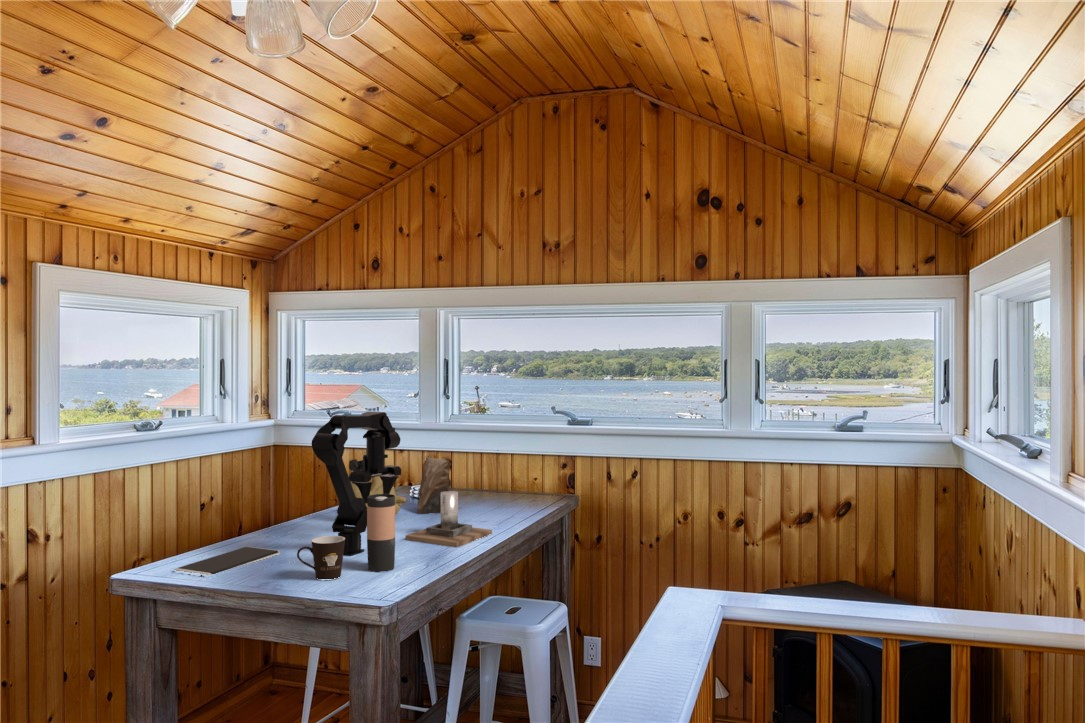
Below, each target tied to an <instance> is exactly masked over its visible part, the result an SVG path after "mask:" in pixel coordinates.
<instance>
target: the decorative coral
mask: <svg viewBox="0 0 1085 723" xmlns="http://www.w3.org/2000/svg"><path fill="white" fill-rule="evenodd" d="M351 472H353V470H352V471H351V470H350V469H349V474H350V473H351ZM349 474H348V476H349ZM381 476H382V475H381ZM350 482H351V485H352V488H353V491H354V494H355V496H356V497H357V498H362V496H361V493H360V490H359V488H358V487H357V486H356V485H355V484H353V483H352V481H350ZM371 482H372V485H371V490H370V495H375V494H383V482H382V480H381V478H380V477H379V476H376V477H372V478H371ZM389 494H392V495H395V516H396V515H397V514H398V513H399V512H400V509H401V508H400V507H402V506H403V505H404V504H405V503H406V502H407V498H406V497H404V496H401V495H397V493H396V489H395V487H394V485H393V487H392V489H391V491H390V493H389ZM370 495H369V496H370ZM365 504H366V503H365ZM366 506H367V504H366Z"/></svg>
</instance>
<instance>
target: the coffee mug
mask: <svg viewBox="0 0 1085 723" xmlns="http://www.w3.org/2000/svg"><path fill="white" fill-rule="evenodd" d="M344 544H345V538H344V537H341V536H338V535H325V536H319V537H318V536H317V537H314V538H312V539H311V546H310V547H309V546H307V545H306V546H302V547H299V549H298V550H297V552H296V557H297V559H298V561H299V562H301V563H302V564H303V565H306V566H308V567H309V568H311V569H313V570H314V573H315V579H316V578H318V579H334V578H338V577H340V576H341V577H342V571H343V570H342V569H343V560H344V555H343V553H344ZM303 550H309V551H310V553H311V554H312V557H313V558H312V559H313V565H311V564H310V563H308V562H306V561H304V560H303V559H302V558H301V557H300V552H301V551H303ZM341 577H340V578H341ZM338 579H339V578H338Z"/></svg>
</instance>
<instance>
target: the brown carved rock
mask: <svg viewBox="0 0 1085 723" xmlns="http://www.w3.org/2000/svg"><path fill="white" fill-rule="evenodd" d="M450 463H451V462H450V460H448V459H446V458H434V457H432V456H431V457H429V456H426V457H425V462H424V465H423V469H422V476H421V481H420V484H419V485H420V486H419V491H418V499H417V500H418V501H417V515H429V513H435V514H441V492H444V491H450V488H451V486H452V480H451V479H450Z"/></svg>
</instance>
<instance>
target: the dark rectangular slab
mask: <svg viewBox="0 0 1085 723" xmlns="http://www.w3.org/2000/svg"><path fill="white" fill-rule="evenodd" d="M280 554H281V552H280V550H279V549H269V548H262V547H254V546H244V547H243V546H242V547H241V548H238V549H235V550H230V551H228V552H225V553H220V554H218V555H215V556H212V557H208V558H205V559H202V560H199V561H195V562H192V563H188V564H185V565H182V566H178V567H177V568H174V569H173V571H174V570H176V571H184V572H190V573H192V572H193V573H200V574H206V575H212V574H216V573H219V572H222V571H225V570H229V569H232V568H235V567H239V566H242V565H245V564H249V563H252V562H256V561H259V560H262V561H264V560H263V559H265V560H267V559H266V558H268V559H270V558H269V557H271V558H273V557H272V556H274V557H276V556H275V555H277V556H280ZM259 562H260V561H259ZM256 563H257V562H256Z"/></svg>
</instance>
